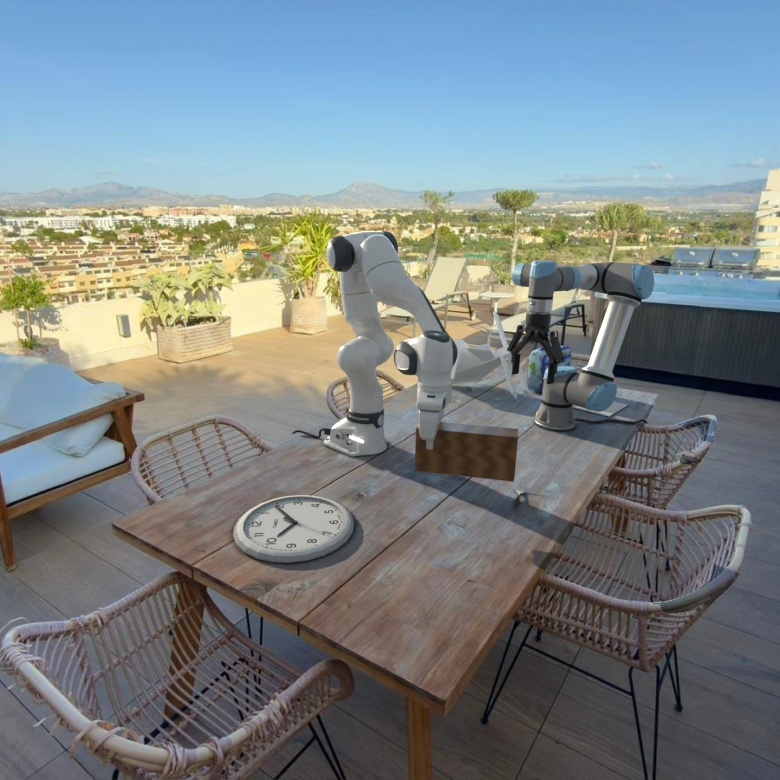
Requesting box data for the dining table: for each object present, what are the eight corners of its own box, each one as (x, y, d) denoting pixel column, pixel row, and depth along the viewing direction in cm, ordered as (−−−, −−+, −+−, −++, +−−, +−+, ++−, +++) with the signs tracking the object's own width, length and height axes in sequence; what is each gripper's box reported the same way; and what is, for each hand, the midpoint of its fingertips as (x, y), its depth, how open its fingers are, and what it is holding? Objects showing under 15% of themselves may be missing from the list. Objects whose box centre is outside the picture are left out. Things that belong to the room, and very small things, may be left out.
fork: (509, 511, 141) (510, 504, 140) (517, 485, 155) (517, 479, 155) (519, 513, 140) (520, 506, 139) (526, 487, 154) (526, 481, 154)
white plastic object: (461, 429, 252) (437, 405, 227) (444, 352, 274) (420, 323, 250) (535, 404, 240) (518, 377, 215) (510, 326, 262) (492, 293, 237)
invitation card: (608, 416, 214) (573, 407, 224) (608, 416, 214) (573, 408, 224) (628, 404, 229) (594, 396, 238) (628, 405, 229) (594, 397, 238)
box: (514, 471, 140) (518, 428, 137) (514, 481, 135) (518, 437, 131) (418, 461, 146) (419, 419, 142) (414, 470, 140) (415, 427, 136)
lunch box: (543, 396, 238) (548, 352, 231) (522, 391, 245) (526, 347, 239) (570, 385, 255) (575, 343, 249) (550, 381, 262) (555, 340, 256)
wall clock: (355, 554, 119) (220, 559, 116) (355, 560, 119) (221, 565, 117) (353, 490, 147) (244, 493, 145) (353, 495, 148) (245, 498, 145)
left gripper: (428, 382, 146) (426, 428, 150) (415, 405, 127) (413, 457, 131) (450, 383, 145) (448, 430, 149) (441, 407, 126) (438, 459, 130)
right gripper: (499, 308, 168) (494, 371, 174) (567, 319, 149) (558, 390, 156) (514, 306, 173) (509, 368, 179) (581, 316, 154) (573, 385, 160)
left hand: (432, 443), depth 140 cm, fingers closed on box, 6 cm apart
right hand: (532, 378), depth 167 cm, fingers open, 13 cm apart
